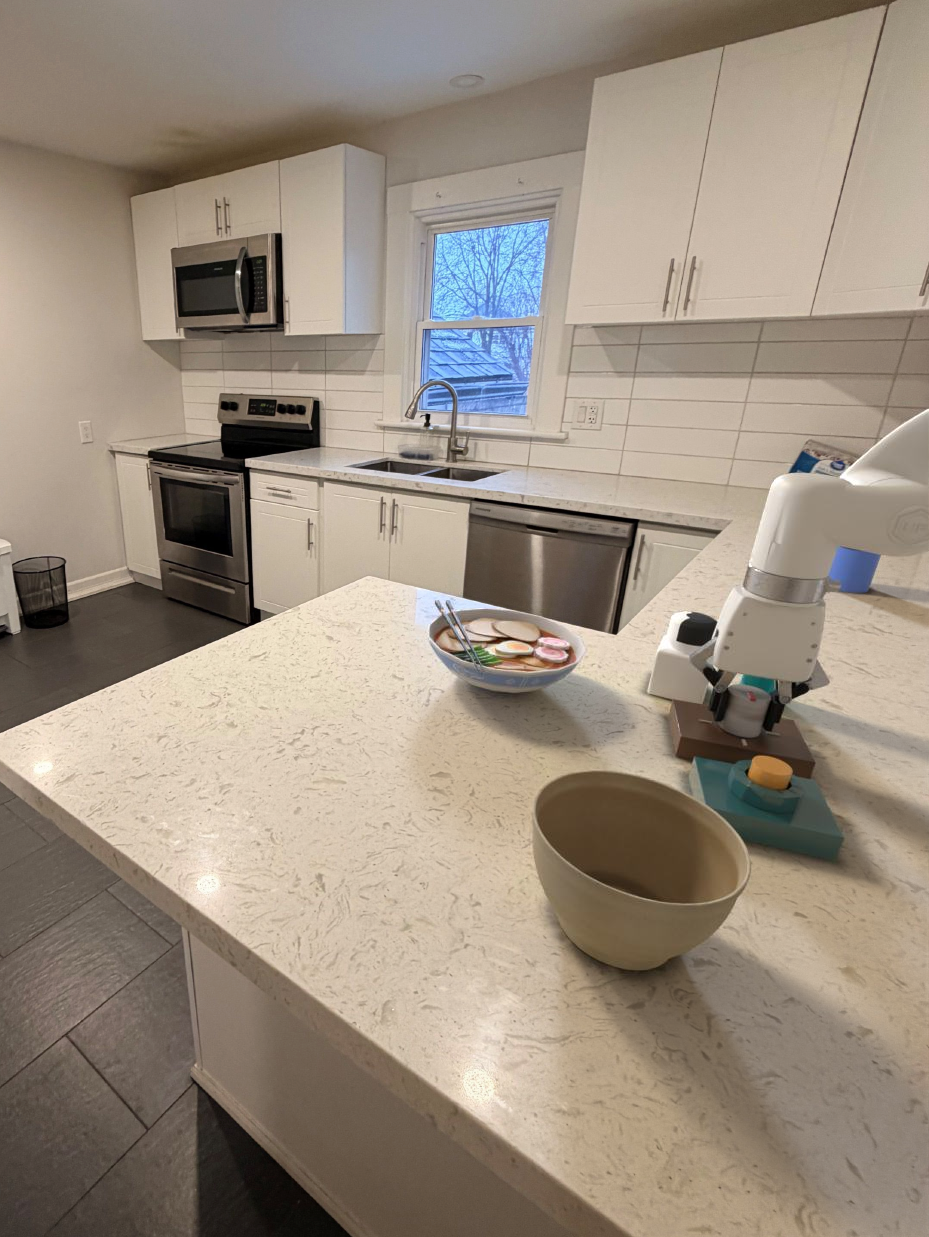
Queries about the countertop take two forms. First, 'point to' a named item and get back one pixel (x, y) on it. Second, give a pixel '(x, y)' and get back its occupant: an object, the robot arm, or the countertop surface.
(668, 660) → the medicine bottle
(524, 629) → the ramen bowl
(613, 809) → the planter bowl
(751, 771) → the yellow push button
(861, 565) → the water bottle
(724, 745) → the panel
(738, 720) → the tap knob
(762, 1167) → the countertop surface
